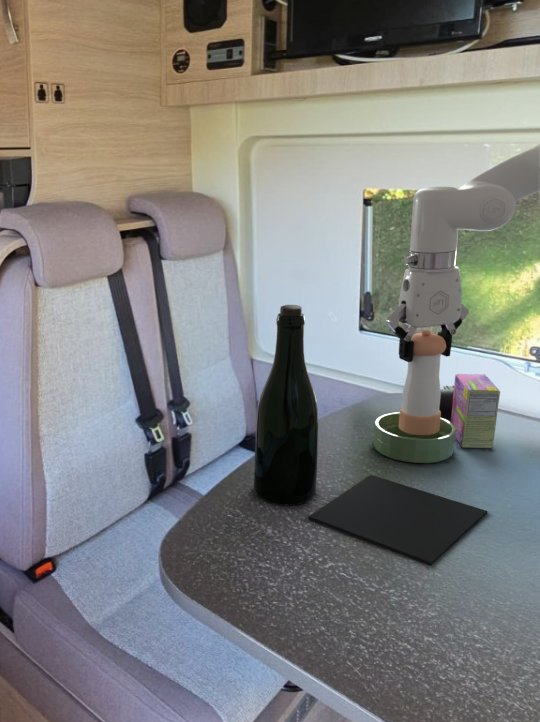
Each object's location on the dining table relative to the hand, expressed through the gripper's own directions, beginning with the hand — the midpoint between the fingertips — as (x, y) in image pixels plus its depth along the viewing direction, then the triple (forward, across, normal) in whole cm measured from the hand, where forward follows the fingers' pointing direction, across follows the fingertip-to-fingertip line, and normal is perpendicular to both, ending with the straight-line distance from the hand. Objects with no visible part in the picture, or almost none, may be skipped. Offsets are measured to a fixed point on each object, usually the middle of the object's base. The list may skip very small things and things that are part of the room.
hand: (424, 356), depth 132 cm
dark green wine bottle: (+18, -32, -8) cm, 37 cm away
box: (+19, +13, +1) cm, 23 cm away
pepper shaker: (+14, 0, 0) cm, 14 cm away
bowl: (+19, -1, 0) cm, 19 cm away
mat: (+18, -18, -21) cm, 34 cm away
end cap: (+19, +13, +12) cm, 26 cm away
